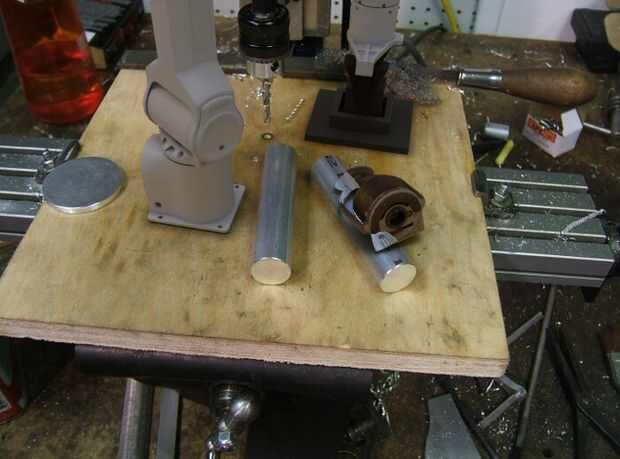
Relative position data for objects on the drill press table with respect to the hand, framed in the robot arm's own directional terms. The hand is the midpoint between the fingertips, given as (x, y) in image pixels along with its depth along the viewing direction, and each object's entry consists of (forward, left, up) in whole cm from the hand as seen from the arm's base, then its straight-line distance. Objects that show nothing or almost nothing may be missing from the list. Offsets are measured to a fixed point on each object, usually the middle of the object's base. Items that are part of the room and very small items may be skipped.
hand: (363, 97), depth 76 cm
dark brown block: (0, 0, -2) cm, 2 cm away
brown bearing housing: (+4, -19, -4) cm, 19 cm away
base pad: (0, 0, -4) cm, 4 cm away
